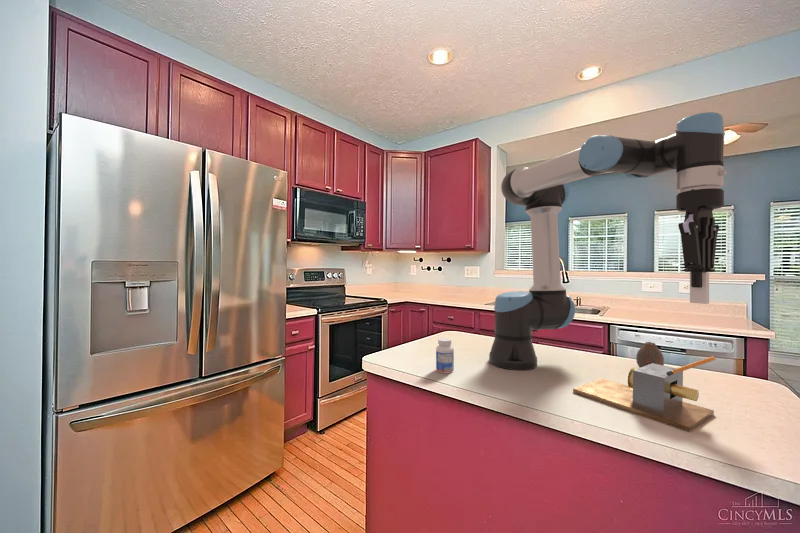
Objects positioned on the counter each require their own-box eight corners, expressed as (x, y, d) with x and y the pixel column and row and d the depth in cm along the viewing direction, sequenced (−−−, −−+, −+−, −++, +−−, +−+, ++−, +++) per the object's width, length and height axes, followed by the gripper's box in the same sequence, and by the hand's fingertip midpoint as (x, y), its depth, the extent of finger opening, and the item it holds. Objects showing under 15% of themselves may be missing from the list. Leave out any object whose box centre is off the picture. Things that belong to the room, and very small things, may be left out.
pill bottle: (439, 367, 109) (440, 336, 109) (456, 369, 107) (456, 338, 107) (433, 372, 104) (433, 340, 104) (450, 374, 102) (450, 342, 102)
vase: (639, 373, 103) (639, 344, 103) (633, 366, 110) (634, 339, 109) (667, 376, 101) (667, 346, 100) (659, 369, 107) (660, 341, 107)
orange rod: (673, 374, 74) (671, 370, 75) (681, 370, 77) (679, 367, 77) (711, 361, 69) (709, 358, 69) (719, 357, 71) (716, 354, 72)
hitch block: (573, 392, 88) (573, 354, 88) (601, 381, 96) (602, 346, 96) (688, 432, 68) (689, 382, 68) (713, 414, 76) (714, 370, 75)
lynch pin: (627, 391, 82) (627, 369, 82) (637, 387, 84) (638, 366, 84) (691, 410, 71) (692, 385, 71) (700, 404, 74) (701, 381, 74)
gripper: (708, 183, 65) (709, 307, 65) (735, 190, 72) (735, 303, 72) (663, 191, 72) (663, 303, 72) (691, 196, 78) (691, 299, 78)
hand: (699, 303), depth 72 cm, fingers closed
